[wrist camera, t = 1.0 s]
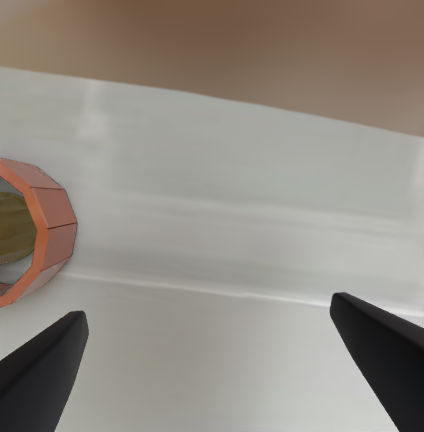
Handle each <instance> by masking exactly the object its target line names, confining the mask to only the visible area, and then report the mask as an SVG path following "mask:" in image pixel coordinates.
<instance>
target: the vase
mask: <svg viewBox="0 0 424 432" xmlns="http://www.w3.org/2000/svg"><path fill="white" fill-rule="evenodd" d="M36 235H37V228H36V226H35V223H34V221H33V218H32V216H31V214H30V211H29V209H28V206H27V204H26V201H25V199H23V198H22V197H20V196H18V195H15V194H12V193H6V192H0V265H1V264H3V263H6V262H14V261H17V260H20V259H22V258H24V257H25V256H27V255H28V254H30V253H31V252H32V251H33V250H34V247H35V241H36Z"/></svg>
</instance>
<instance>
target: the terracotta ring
mask: <svg viewBox="0 0 424 432" xmlns="http://www.w3.org/2000/svg"><path fill="white" fill-rule="evenodd" d="M0 176H1V177H2V178H3V179H5V180H6V181H7V182H8V183H10V184H11V185H12V186H13V187H15V188H16V189H17V190H19V191H20V192H21V193H22V194H23V197H24V199H25V201H26V204H27V206H28V209H29V211H30V214H31V216H32V218H33V221H34V223H35V226H36V228H37V235H36V241H35V247H34V253H33V259H32V265H31V267H30V268H29V269H28V270H27V272H26V273H25V274H24V275H23V276H22V277H21V278H20V279H19V280H18V282H17V283H16V284H14V285H9V284H3V283H0V308H1V307H4V306H7V305H10V304H12V303H14V302H16V301H17V300H19V299H21V298H22V297H24V296H26V295H27V294H29V293H31V292H32V291H34V290H36V289H37V288H39V287H41V286H42V285H44V284H46V283H47V282H49V281H50V280H51V279H52V278H53V276H54V275H55V274H56V273H57V272H58V271H59V270H60V269H61V267H62V266H63V265H64V264H65V263H66V262H67V261H68V260H69V259H70V257H71V255H72V251H73V245H74V240H75V234H76V228H77V223H76V222H77V219H76V217H75V214H74V212H73V209H72V207H71V204H70V202H69V199H68V196H67V194H66V191H65V190H64V188H62V187H61V186H60V185H59V184H57V183H56V182H55V181H54V180H53V179H51V178H50V177H49V176H48V175H46V174H45V173H44V172H43V171H42V170H40V169H39V168H38V167H37V166H34V165H31V164H27V163H22V162H18V161H13V160H8V159H4V158H0Z"/></svg>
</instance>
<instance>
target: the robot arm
mask: <svg viewBox="0 0 424 432" xmlns="http://www.w3.org/2000/svg"><path fill="white" fill-rule="evenodd" d="M330 316H331V319H332V321H333V322H334V324H335V326H336V328H337V330H338V332H339V334H340V336H341V338H342V340H343V342H344V343H345V345H346V347H347V349H348V351H349V353H350V355H351V356H352V358H353V360H354V361H355V363H356V365H357V366H358V368H359V369H360V371H361V372H362V374H363V376H364V377H365V379H366V380H367V382H368V383H369V385H370V387H371V388H372V390H373V391H374V393H375V394H376V396H377V397H378V399H379V401H380V402H381V404H382V405H383V407H384V408H385V410H386V412H387V413H388V415H389V416H390V418H391V419H392V421H393V422H394V424H395V426H396V427H397V429H398V430H399V432H424V328H422V327H420V326H418V325H415V324H413V323H411V322H409V321H407V320H405V319H402V318H400V317H398V316H396V315H394V314H391V313H389V312H387V311H385V310H383V309H381V308H378V307H376V306H374V305H372V304H370V303H367V302H365V301H363V300H361V299H359V298H356V297H354V296H352V295H350V294H348V293H345V292H340V293H334V294H333V296H332V301H331V306H330ZM88 335H89V329H88V324H87V319H86V314H85V312H84V311H72V312H70V313H68V314H67V315H65V316H64V317H62V318H61V319H59V320H58V321H57V322H55V323H54V324H52V325H51V326H49V327H48V328H47V329H45V330H44V331H42V332H41V333H39V334H38V335H36V336H35V337H34V338H32V339H31V340H29V341H28V342H26V343H25V344H24V345H22V346H21V347H19V348H18V349H16V350H15V351H14V352H12V353H11V354H9V355H8V356H6V357H5V358H4V359H2V360H1V361H0V432H54V431H55V429H56V426H57V424H58V422H59V419H60V417H61V414H62V412H63V410H64V407H65V405H66V402H67V400H68V397H69V395H70V393H71V390H72V387H73V385H74V382H75V379H76V375H77V372H78V369H79V366H80V362H81V359H82V356H83V352H84V349H85V346H86V343H87V339H88Z"/></svg>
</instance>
